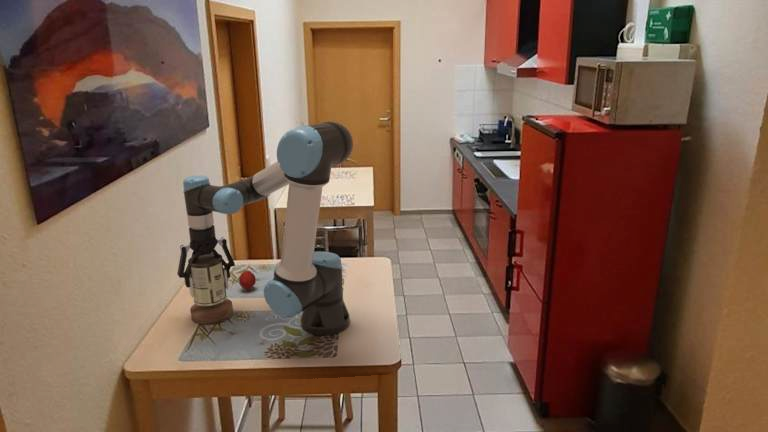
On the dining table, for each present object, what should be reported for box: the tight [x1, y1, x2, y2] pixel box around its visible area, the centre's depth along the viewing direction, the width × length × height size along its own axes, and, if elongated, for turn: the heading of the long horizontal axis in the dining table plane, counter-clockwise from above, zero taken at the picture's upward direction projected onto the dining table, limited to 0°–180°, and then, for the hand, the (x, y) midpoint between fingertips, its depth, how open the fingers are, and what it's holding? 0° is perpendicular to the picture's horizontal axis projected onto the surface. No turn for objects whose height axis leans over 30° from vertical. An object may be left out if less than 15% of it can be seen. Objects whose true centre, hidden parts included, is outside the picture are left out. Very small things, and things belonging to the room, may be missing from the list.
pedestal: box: [189, 298, 234, 325], centre depth 172 cm, size 13×13×3 cm
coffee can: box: [187, 253, 228, 306], centre depth 169 cm, size 10×10×14 cm
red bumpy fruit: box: [238, 268, 257, 291], centre depth 189 cm, size 6×6×8 cm
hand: (209, 291), depth 170 cm, fingers closed on coffee can, 10 cm apart
